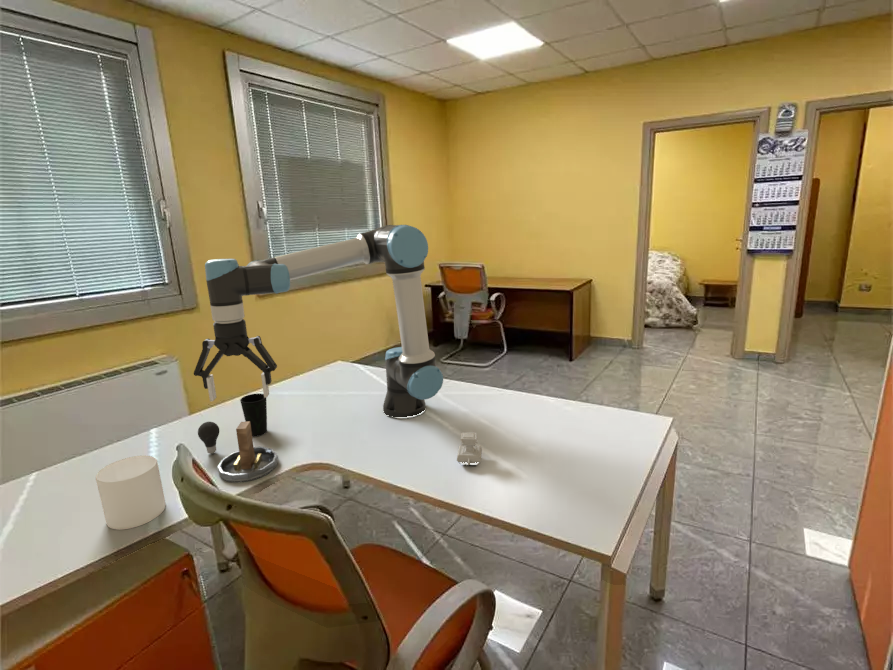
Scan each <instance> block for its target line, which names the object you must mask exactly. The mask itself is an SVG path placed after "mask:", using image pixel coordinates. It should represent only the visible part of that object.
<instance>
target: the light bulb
mask: <svg viewBox="0 0 893 670" xmlns="http://www.w3.org/2000/svg"><path fill="white" fill-rule="evenodd" d="M197 435H198V438H199V439H200V441H202V442H203V444H204V446H205V448H206V452H207V454H210V455H214V453H216V452H217V439H218V437H219V435H220V427H219V426H218V424H217V423H216V422H213V421H206V422H205V421H204V422H203V423H201V424H200V426H199V427H198V430H197Z"/></svg>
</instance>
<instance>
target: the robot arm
mask: <svg viewBox="0 0 893 670" xmlns="http://www.w3.org/2000/svg"><path fill="white" fill-rule="evenodd" d="M428 254H429V243H428V240H427V238H426V236H425V234H424V233H423V231H421V230H420V229H419V228H417V227H414V226H413V225H409V224H387V225H384V226H381V227H378V228H374V229H372V230H369V231H365V232H362V233H358V234H357V236H356V237H354V238H350V239H347V240H342V241H337V242H334V243H328V244H324V245H320V246H316V247H311V248H308V249H303V250H299V251H294V252H291V253H287V254H286V253H285V254H283V255H277V256H275V257H269V258H265V259H255V260H252V261H250V262H249V263H248V264H247V265H240V264H239V263H238V260H237V259H236V258H215V259H209V260H207V261H206V262H205V264H204V270H205V280H206V287H207V291H208V292H207V293H208V299H209V303H210V305H209V306H210V313H211V319H212V321H214V322H213V324H212V325H213V331H214V336H215V337H214V339H210V338H206V339H204V340H203V341H202V344H201V345H202V350H201V353H200V355H199V358H198V361H197V363H196V366H195V368H194V371H193V376H195V377H197V376H198V377H201V378H202V384H203V388H204V389H207V390H208V396H209V397H208V398H209V402H214V401H215V400H216V399H217V393H216V392H217V391H216V386H215V380H214V379H215V378H214V374H211V373H212V371H213V369H214V368H215V367H216V365H217V364H218V363H219V361H220V360H221V359H222V357H223V356H226V357H232V356H235V357H236V356H237V357H238V356H240V355H242V356H243V357H245V358H247V359H248V360H249V361H250V362H251V363H253V365H255V366H256V367H257V368H258V369H259V370H260V371H261V372H262V373H261V374H260V378H261V384H262V391H263V393H262V394H264V398H266V399H267V398H268V396H269V395H270V389H269V388H270V387H269V385H271V383H272V372H274V371H275V370H276V369H277V368H278V364H277V363H276V362H275V360H274V359H273V357H272V356H271V354H270V352H269V351H268V350H267V349H266V347H265V346H264V344H263V341H262V337H261V336H260V335H257V336H256V337H250V338H249V337H248V331H247V324H246V319H245V309H244V301H243V297H244V296H253V295H266V294H267V295H268V294H279V293H285V292H289V290H290V288H291V281H292V280H297V279H300V278H305V277H308V276H312V275H317V274H321V273H325V272H329V271H332V270H336V269H340V268H341V269H342V268H344V267H349V266H352V265H356V264H361V263H363V264H365V265H370V264H372V263H384V267H385V273H386V276H388V277H390V278H391V280H392V285H393V287H392V288H393V295H394V300H395V309H396V315H397V324H398V329H399V337H400V343H401V346H399V347H393V348H390V349H388V350H386V352H385V358H384V361H385V373H386V374H385V375H386V394H385V398H384V401H383V404H382V407H383V408H382V410H383V411H384V412H383V414H384V413H385V414H386V415H389V416H393V417H407V416H413V415H417V414H419V413H421V412H422V411H424V410H425V408H426V409H427V406H426V405H427V404H426V400H429V399H432V398H433V397H434V396H436V395H437V394H438V392H439V391H440V390H441V388H442V387H443V384H444V375H443V372H442V371H441V369H440V368H439V367H438V366H437V361H436V354H435V352H434V351H433V350H432V349H430V343H429V336H428V326H427V319H426V310H425V303H424V302H425V301H424V295H423V294H424V292H423V287H422V286H423V285H422V278H421V275H422V274H423V272H424V271H425V269H426V268H425V260H426V258H427V257H428ZM249 344H251V345H252V346H254V347H255V349H256V350H257V352H258V354H259V355H260V356H261V357H262V359H263V360H262V359H261V358H260V357H259V356H258V355H257V354H255V353H254V351H252V350H253V349H251V348H250V347H249ZM214 346H215V347H216V348H217V350H218V351H217V353H216V354H215V355H214V357H213V358H212V360H211V361H210V362H209V364H208V365H207V367H206V368H205V369H204V367H205V364H206V362H207V359H208V356H209V353H210V351H211V349H212V348H213V347H214ZM425 411H426V410H425ZM385 414H384V415H385ZM386 415H385V416H386Z"/></svg>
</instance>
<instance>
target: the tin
mask: <svg viewBox="0 0 893 670" xmlns="http://www.w3.org/2000/svg"><path fill="white" fill-rule="evenodd" d="M254 454H255V461H254V464H253V466H252V468H251V469H242V467H241V460H240V453H239V450H237V451H234V452H231V453H230V454H228V455H226V456H224V457H223V458H222V459H221V460H220V461H219V464H218V465H217V472H218V476H219V478H221V480H222V481H225V482H228V483H246V482H251V481H254V480H258V479H260V478H263V477H265V476H266V475H268V474H270V473H271V472H273V471H274V470H275V469H276V467H277V466H278V459H279V458H278V457H279V456H278V454H277V452H276V451H275V450H274V449H273V448H270V447H264V446H255V447H254Z"/></svg>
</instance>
